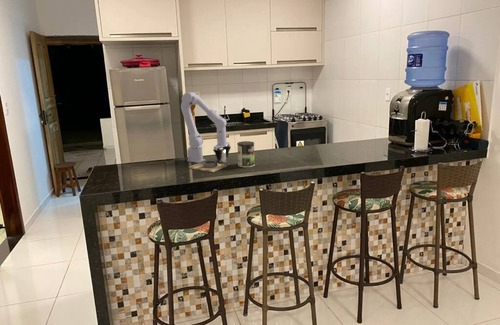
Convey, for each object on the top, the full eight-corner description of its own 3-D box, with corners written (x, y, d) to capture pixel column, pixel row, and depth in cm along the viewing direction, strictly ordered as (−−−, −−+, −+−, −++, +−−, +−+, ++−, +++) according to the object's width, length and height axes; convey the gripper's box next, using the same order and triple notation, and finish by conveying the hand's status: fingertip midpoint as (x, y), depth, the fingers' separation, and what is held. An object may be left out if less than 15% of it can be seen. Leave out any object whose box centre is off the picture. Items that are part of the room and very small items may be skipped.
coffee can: (257, 164, 227) (257, 142, 223) (249, 168, 218) (248, 145, 215) (243, 162, 232) (243, 140, 228) (234, 166, 224) (233, 143, 220)
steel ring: (200, 167, 220) (200, 163, 219) (209, 163, 227) (209, 159, 226) (211, 168, 215) (211, 164, 215) (220, 165, 222) (220, 161, 222)
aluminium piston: (217, 162, 234) (217, 150, 232) (221, 160, 238) (221, 148, 236) (223, 163, 232) (222, 150, 230) (227, 161, 235) (227, 149, 233)
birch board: (189, 168, 221) (188, 166, 221) (203, 162, 233) (203, 161, 233) (212, 172, 212) (212, 170, 212) (226, 166, 223) (226, 164, 223)
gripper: (219, 140, 223) (220, 162, 226) (233, 136, 234) (234, 156, 238) (210, 139, 226) (211, 160, 230) (224, 135, 238) (225, 155, 242)
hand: (222, 158), depth 234 cm, fingers open, 7 cm apart
